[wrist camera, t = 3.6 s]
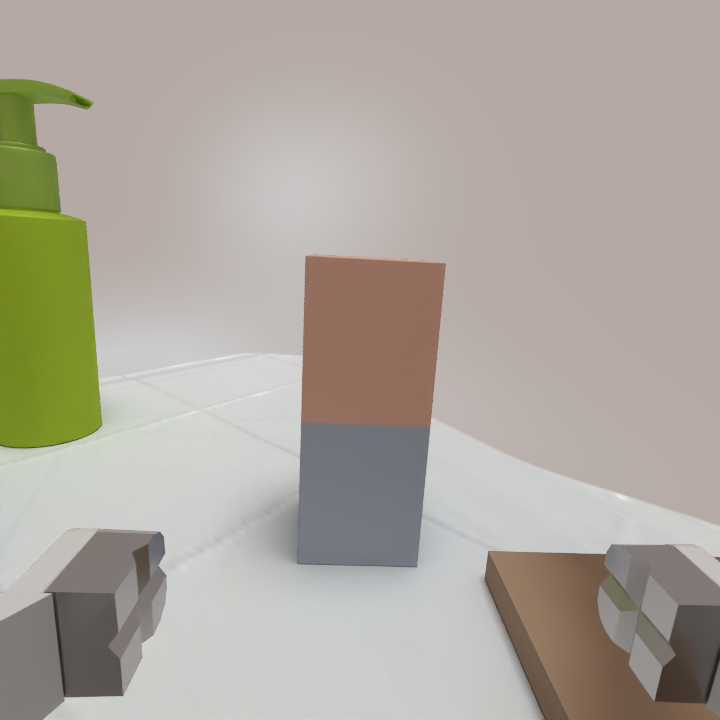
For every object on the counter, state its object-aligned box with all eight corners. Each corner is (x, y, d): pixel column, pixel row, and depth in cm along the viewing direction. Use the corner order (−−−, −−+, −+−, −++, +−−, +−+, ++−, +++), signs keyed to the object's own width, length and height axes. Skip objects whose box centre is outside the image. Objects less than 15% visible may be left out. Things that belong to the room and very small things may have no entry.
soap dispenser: (77, 453, 27) (41, 65, 22) (-35, 443, 27) (-94, 61, 22) (134, 418, 32) (115, 103, 28) (40, 410, 33) (6, 100, 28)
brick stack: (402, 503, 23) (422, 260, 21) (416, 566, 19) (445, 263, 16) (306, 500, 23) (314, 254, 20) (297, 564, 18) (305, 255, 16)
